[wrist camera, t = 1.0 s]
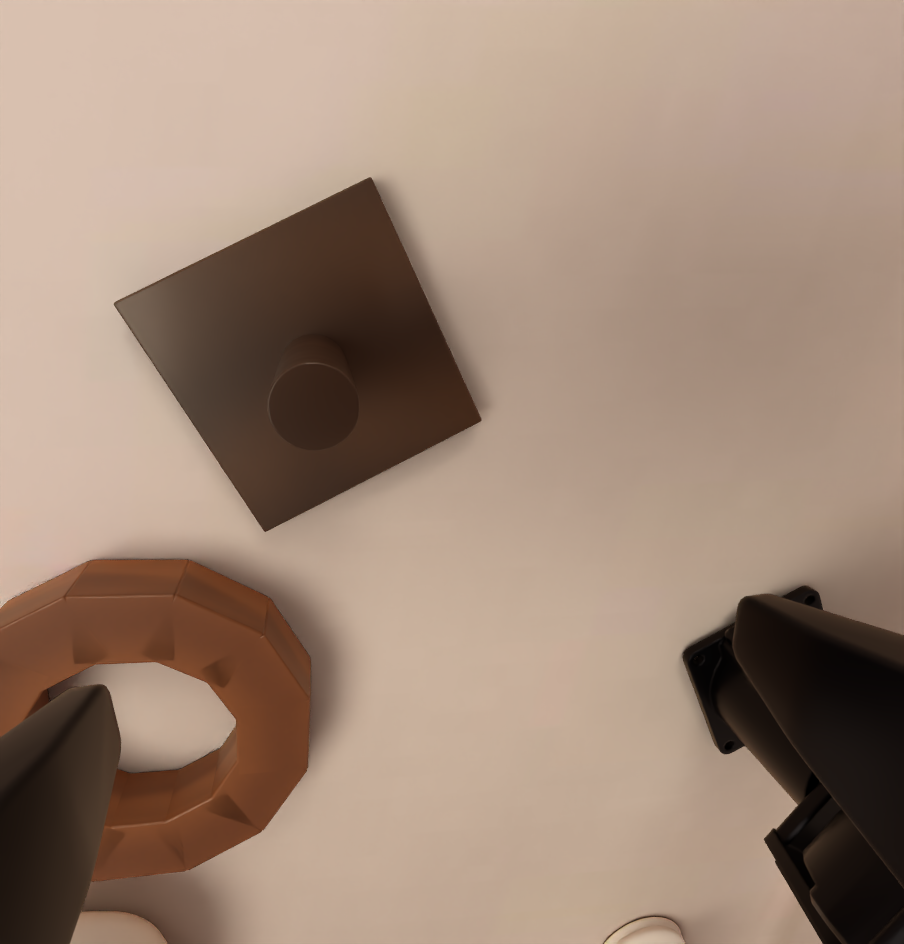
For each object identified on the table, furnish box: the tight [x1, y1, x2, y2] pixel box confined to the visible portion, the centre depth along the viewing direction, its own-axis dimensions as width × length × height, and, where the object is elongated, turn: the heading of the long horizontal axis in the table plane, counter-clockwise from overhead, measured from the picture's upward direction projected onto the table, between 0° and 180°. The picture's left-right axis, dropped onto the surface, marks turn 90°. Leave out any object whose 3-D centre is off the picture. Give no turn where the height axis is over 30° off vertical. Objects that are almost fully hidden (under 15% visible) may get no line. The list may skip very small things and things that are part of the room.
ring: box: [0, 560, 311, 882], centre depth 21 cm, size 11×11×2 cm
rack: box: [114, 177, 481, 532], centre depth 16 cm, size 8×8×6 cm
